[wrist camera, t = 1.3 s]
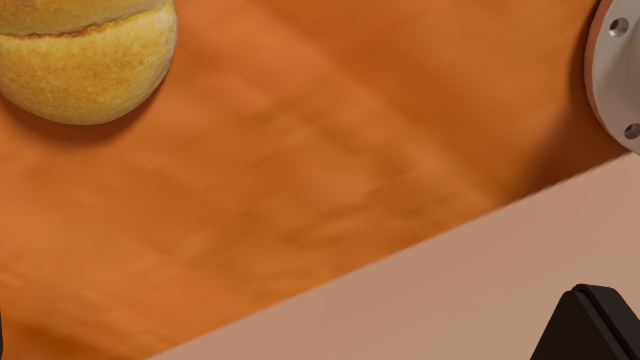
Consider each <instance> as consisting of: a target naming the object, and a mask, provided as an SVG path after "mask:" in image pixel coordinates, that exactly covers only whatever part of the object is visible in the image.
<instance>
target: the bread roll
mask: <svg viewBox="0 0 640 360" xmlns="http://www.w3.org/2000/svg"><path fill="white" fill-rule="evenodd" d="M177 36H178V19H177V13H176V10H175V5H174V3H173V0H0V93H1V94H2V95H3V96H4V97H5V98H7V99H8V100H9V101H11V102H12V103H13V104H15V105H16V106H17V107H19V108H21V109H23V110H25V111H28V112H30V113H32V114H34V115H37V116H39V117H42V118H45V119H48V120H51V121H55V122H60V123H65V124H71V125H93V124H102V123H106V122H109V121H112V120H115V119H117V118H119V117H121V116H123V115H125V114H127V113H129V112H130V111H132V110H133V109H135V108H136V107H137V106H139V105H140V104H141V103H142V102H143V101H145V100H146V99H147V98H148V97H149V96H150V95H151V94H152V93H153V91H154V90H155V89H156V88H157V86H158V85H159V83H160V82H161V80H162V79H163V77H164V76H165V74H166V72H167V71H168V68H169V66H170V64H171V61H172V58H173V55H174V51H175V47H176V43H177Z"/></svg>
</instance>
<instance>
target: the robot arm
mask: <svg viewBox="0 0 640 360" xmlns="http://www.w3.org/2000/svg"><path fill="white" fill-rule="evenodd" d="M612 22H613V24H612ZM611 24H612V25H611ZM610 25H611V26H610ZM584 81H585V86H586V92H587V98H588V100H589V103H590V105H591V107H592V110H593V112H594V114H595V117H596V118H597V120H598V121H599V122H600V123H601V125H602V126H603V127H604V129H605V130H606V131H607V133H609V134H610V135H611V136H612V137H613V138H614V139H616V140H617V141H618V142H619V143H620V144H622V145H623V146H624V147H626V148H628V149H629V150H631V151H633V152H634V153H636V154H638V155H639V156H640V0H601V2H600V5H599V7H598V10H597V12H596V15H595V17H594V19H593V22H592V24H591V27H590V31H589V36H588V40H587V44H586V49H585V57H584ZM2 352H3V338H2V325H1V313H0V360H1V357H2ZM530 360H640V320H639V319H638V318H637V316H636V315H635V314H634V312H633V311H632V310H631V308H630V307H629V306H628V304H626V302H625V301H624V299H623V298H622V297H621V295H620V294H619V293H618V292H617V291H616V290H615V289H613V288H610V287H603V286H596V285H588V284H577V285H576V286H574V287H573V288H572V290H571V291H566V292H565V293H564V294H563V295H562V297H561V298H560V300H559V302H558V304H557V306H556V308H555V310H554V312H553V314H552V316H551V318H550V320H549V322H548V324H547V326H546V328H545V330H544V332H543V334H542V336H541V338H540V341H539V342H538V345H537V346H536V349H535V351H534V353H533V355H532V357H531V359H530Z"/></svg>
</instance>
